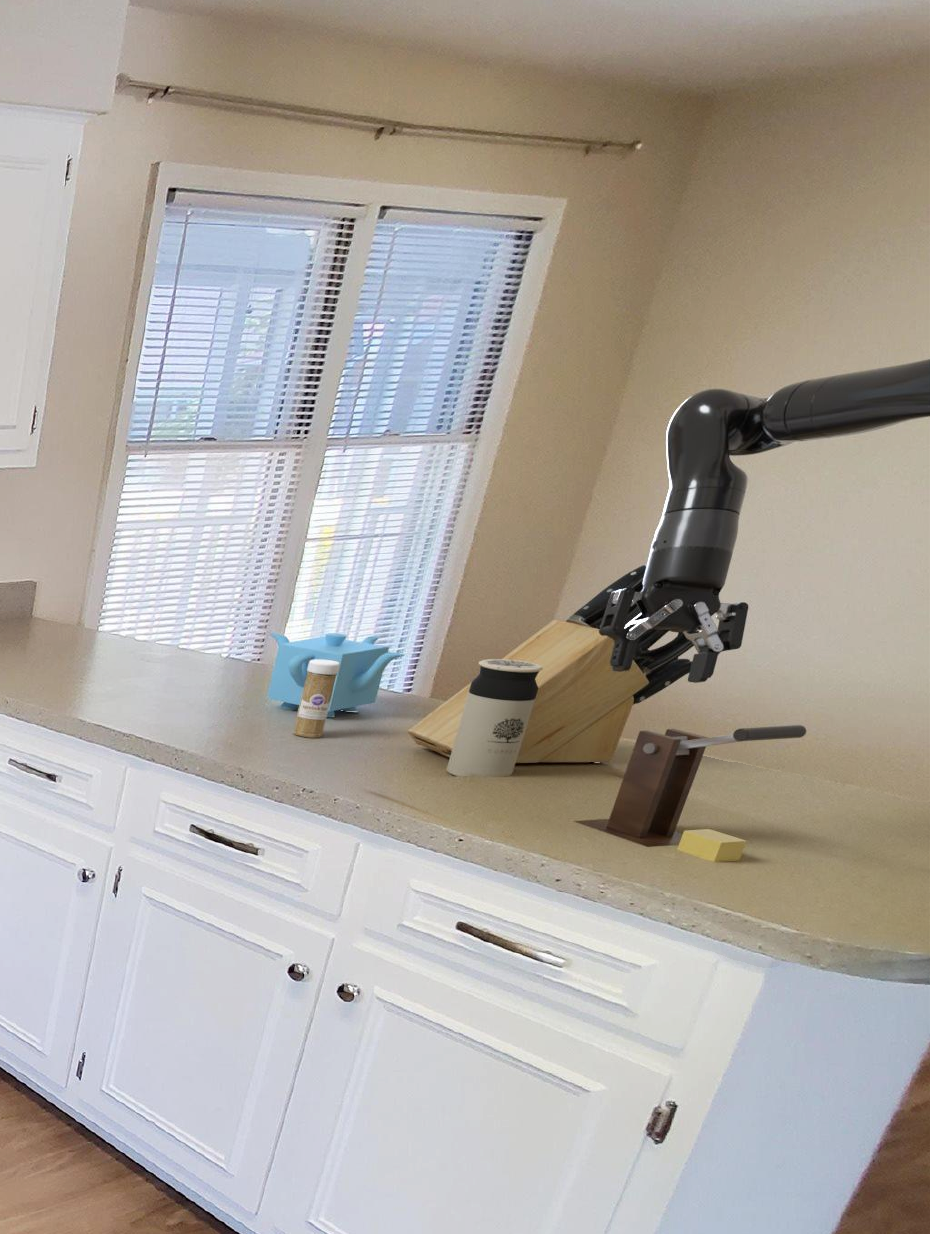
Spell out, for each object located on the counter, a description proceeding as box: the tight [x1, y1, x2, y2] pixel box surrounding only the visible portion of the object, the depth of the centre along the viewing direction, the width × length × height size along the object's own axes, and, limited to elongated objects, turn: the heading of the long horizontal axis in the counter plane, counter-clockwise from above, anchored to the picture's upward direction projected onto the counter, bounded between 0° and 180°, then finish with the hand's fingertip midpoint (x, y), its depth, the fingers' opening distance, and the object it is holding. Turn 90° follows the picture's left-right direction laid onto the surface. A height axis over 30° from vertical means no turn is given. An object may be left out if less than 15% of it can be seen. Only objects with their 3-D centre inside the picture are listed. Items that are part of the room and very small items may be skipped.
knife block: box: [407, 563, 702, 764], centre depth 180 cm, size 11×35×31 cm, turn 88°
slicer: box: [573, 728, 709, 848], centre depth 147 cm, size 10×9×15 cm
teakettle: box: [266, 632, 406, 717], centre depth 213 cm, size 19×19×15 cm
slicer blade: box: [674, 724, 807, 756], centre depth 140 cm, size 13×8×2 cm, turn 6°
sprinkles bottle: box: [292, 659, 340, 739], centre depth 197 cm, size 5×5×14 cm
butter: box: [677, 828, 748, 863], centre depth 141 cm, size 7×7×4 cm
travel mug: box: [446, 658, 542, 778], centre depth 173 cm, size 8×8×18 cm
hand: (658, 676), depth 144 cm, fingers open, 8 cm apart
